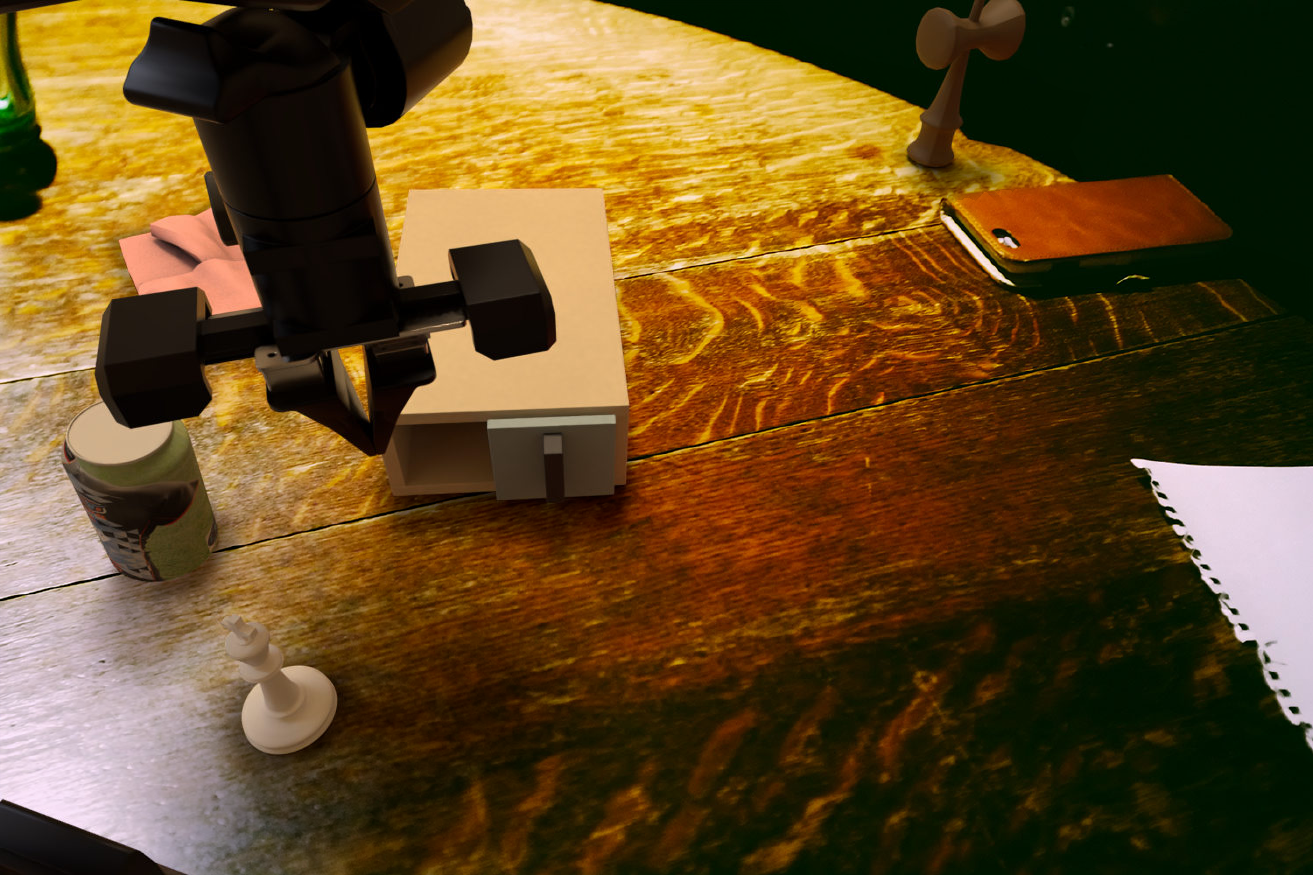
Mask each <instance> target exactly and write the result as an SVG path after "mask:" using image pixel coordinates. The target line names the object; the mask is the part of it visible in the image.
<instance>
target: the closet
mask: <svg viewBox="0 0 1313 875" xmlns="http://www.w3.org/2000/svg"><path fill="white" fill-rule="evenodd" d="M406 201H407V202H406V207H405V211H404V212H405V213H404V218H403V224H402V230H401V236H400V242H399V247H398V253H397V257H396V258H397V259H396V263H395V267H396V273H397V277H399V276H406V275H409V276H412V278H413V281H414V285H415V286H421V285H427V284H433V283H440V282H446V281H452V280H453V279H452V276H451V272H450V266H449V260H448V250H449V249H453V248H460V247H466V246H473V245H480V244H487V243H493V242H500V241H507V240H513V239H519V240H520V241H521V242H522V243H524V244H525V245H526V246H527V247H529V248H530V249H531V251H532V253H533V255H534V257H535V260H536V262H537V264H538V267H539V269H540V271H541V273H542V276H543V278H544V280H545V283H546V285H547V287H548V289H549V292H550V294H551V296H552V301H553V305H554V310H555V316H556V342H555V343H554V344H553V346H552V347H551V348H550V349H549V350H548V351H544V352H538V353H533V354H528V355H522V356H517V357H512V358H506V359H501V360H496V361H493V360H491V359H490V358H488V357H486V356H484V355H482V354H480V353H478V352H476V351H475V348H474V345H473V341H472V333H471V327H470V324H469V320H468V321H467V325H466V326H465V327H462V328H457V329H451V330H445V331H440V332H434V333H430V336H431V338H430V339H428V341H429V345H430V349H431V352H432V356H433V360H434V364H435V368H436V373H437V377H436V379H435V380H434V381H433V382H432V383H431V384H428V385H424V386H420V387H418V388H416V389H415V391H414V393H413V394H412V396H411V397H410V399H409V401H408V402H407V404H406V406H405V407H404V409H403V410H402V412H401V414H400V415H399V418H398V420H397V423H396V425H395V428H394V431H393V433H392V436H391V439H390V442H389V444H388V447H387V450H386V453H385V454H382V455H381V457H382V461H383V464H384V468H385V471H386V475H387V478H388V483H389V485H390V486H389V487H390V489H391V493H392V495H393V497H401V496H402V497H403V496H422V495H423V496H425V495H443V494H445V495H446V494H461V493H462V494H464V493H466V494H467V493H481V492H482V493H483V492H486V493H487V492H496V488H495V481H494V474H493V467H492V460H491V453H490V445H489V438H488V431H487V421H488V420H491V419H517V418H542V417H567V416H593V415H615V418H616V444H615V479H614V486H625V485H627V468H628V467H627V466H628V445H629V444H628V443H629V424H630V423H629V422H630V420H629V419H630V400H629V391H628V383H627V376H626V367H625V365H626V364H625V359H624V349H623V341H622V333H621V324H620V317H619V309H618V300H617V294H616V284H615V276H614V268H613V261H612V252H611V251H612V250H611V244H610V236H609V235H610V234H609V227H608V219H607V218H608V217H607V209H606V203H605V202H606V201H605V193H604V188H603V187H598V188H597V187H586V188H585V187H581V188H580V187H575V188H574V187H573V188H571V187H570V188H561V187H560V188H559V187H558V188H557V187H555V188H451V189H450V188H448V189H447V188H443V189H442V188H441V189H439V188H438V189H437V188H436V189H435V188H434V189H433V188H431V189H430V188H429V189H409V190H408V196H407V200H406Z"/></svg>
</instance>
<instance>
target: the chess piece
mask: <svg viewBox="0 0 1313 875" xmlns="http://www.w3.org/2000/svg"><path fill="white" fill-rule="evenodd" d="M219 623H220V625H221V627H222V628H224V629H226V630H229V631H230V632H229V633H228V634H227V636H226V638H225V641H224V650H225V653H226V654H227V655H228V657H230V658H231V659H233V660H235V661H238V662H239V663H238V673H239V676H240V677H241V679H242V680H243V681H244V682H247V683H250V684H255V685H254V687H253V688H252V689H251V691H250V692H249V693H248V695H247V697H246V699H245V700H244V703H243V707H242V710H241V724H242V725H241V726H242V728H243V731H244V735H245V737H246V739H247V741H248V742H249V743H250V745H252V746H253V747H254V748H256V749H257V750H258V751H260V752H263V753H266V754H270V755H286V754H291V753H295V752H297V751H300V750H302V749H304V748H306V747H308V746H310V745H311V744H313V743H314V742H316V741H317V740H318V739H319V738H320V737H321V736H322V735H323V734H324V733H325V732H326V731H327V729H328V728H329V727H330V725H331V723H332V722H333V719H334V718H335V715H336V711H337V706H338V695H337V691H336V688H335V686H334V684H333V682H332V681H331V680H330V679H329V678H328V676H326V675H325V673H323V672H322V671H320V670H319V669H317V668H315V667H311V666H307V665H290V666H286V667H283V665H284V662H285V656H284V652H283V650H282V649H281V648H280V647H278V646H276V645H275V644H272V643H270V640H271V639H270V632H269V630H268V628H267V626H266V625H265V624H263V623H261V622H259V621H247V622H245V621H244V619H243V618H242V616H241V615H239V614H236V613H234V612H232V614H231V615H230V616H229V615H225V616H224V617H223V618H222V620H221V621H220V622H219Z"/></svg>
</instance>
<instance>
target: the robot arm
mask: <svg viewBox="0 0 1313 875" xmlns="http://www.w3.org/2000/svg"><path fill="white" fill-rule="evenodd" d="M79 1H81V0H0V15H6V14H11V13H16V12H22V11H28V10H33V9H40V8H45V7H51V6H56V5H57V6H58V5H62V4H67V3H73V2H79ZM180 1H182V2H190V3H191V2H192V3H199V4H208V5H216V6H225V7H230V8H228V9H226V10H225V11H222V12H221V13H219V14H217V15H215V16H214V17H212V18H209V19H208V20H206V21H204V22H202V23H200V24H199V23H194V22H189V21H185V20H179V19H174V18H169V17H164V16H154V17H153V18H152V19H151V20H150V22H149V31H148V37H147V40H146V43H145V44H144V47H143V48H142V50H141V51H140V53H138V55H137V56H136V57H135V58H134V59H133V61H132V62H131V64H129V65H130V66H129V68H128V71H127V74H126V76H125V79H124V82H123V84H122V94H123V97H124V99H125V100H126V101H127V102H128V103H129V104H131V105H133V106H137V107H140V108H141V107H142V108H146V109H151V110H156V111H161V112H165V113H170V114H173V115H179V116H183V117H188V118H192V121H193V124H194V126H195V129H196V132H197V134H198V138H199V140H200V143H201V145H202V149H203V151H204V153H205V156H206V159H207V162H208V164H209V167H210V170H208V171H206V172H205V173H204V174H203V179H204V184H205V187H206V191H207V196H208V199H209V205H210V208H211V209H212V213H213V216H214V219H215V223H216V226H217V229H218V232H219V235H220V238H221V240H222V242H223V244H224V245H226V246H234V245H239V246H240V249H241V251H242V254H243V257H244V259H245V262H246V265H247V268H248V270H249V273H250V276H251V278H252V281H253V284H254V287H255V289H256V292H257V295H258V297H259V300H260V303H261V306H262V307H258V308H252V309H245V310H239V311H233V312H226V313H220V314H214V315H212V308H211V305H210V303H209V301H208V298H207V296H206V294H205V291H204V290H202V289H200V288H199V287H190V288H184V289H177V290H170V291H163V292H157V293H150V294H143V295H139V294H137V295H131V296H124V297H123V296H122V297H117V298H112V299H110V301H109V303H108V305H107V307H106V308H105V310H104V312H103V314H102V316H101V323H100V331H99V338H98V345H97V352H96V358H95V367H94V378H95V379H94V380H95V382H96V386H97V391H98V395H99V397H100V399H101V400H103V401H104V403H105V405H106V406H107V408H108V409H109V411H110V413H111V414H112V416H113V418H114V419H115V421H116V423H118V424H121V425H123V426H125V427H127V428H129V429H134V428H139V427H145V426H150V425H155V424H161V423H166V422H171V421H177V420H181V421H183V420H186V419H193V418H197V417H200V416H201V414H202V413H203V412H204V410H205V409H206V408H207V407H208V405H209V404H211V402H212V400H213V388H212V387H211V384H210V382H209V380H208V378H207V375H206V373H205V372H206V366H208V367H209V366H212V365H213V366H214V365H218V364H225V363H230V362H236V361H243V360H247V359H252V358H253V359H254V365H255V367H256V370H257V372H258V373H261V374H262V377H263V379H264V381H265V393H266V394H265V395H266V396H265V397H266V402H267V405H268V407H269V408H270V409H271V411H273V412H276V413H281V414H282V413H288V412H296V413H299V414H300V415H302V416H304V417H306V418H308V419H310V420H312V421H314V422H315V423H318V424H320V425H321V426H324V427H326V428H328V429H329V430H332V431H333V432H334V433H336V434H337V435H338V436H340V437H341V438H343V439H344V440H345V441H346V442H348V443H349V444H351V445H352V446H354V447H355V448H356V449H358V451H360V452H361V453H363V454H365V455H366V456H367V457H369V458H372V457H373V458H374V457H377V456H382V454H385V453H386V450H387V447H388V444H389V442H390V439H391V436H392V433H393V431H394V428H395V425H396V423H397V420H398V418H399V415H400V414H401V412H402V410H403V409H404V407H405V406H406V404H407V402H408V401H409V399H410V397H411V396H412V394H413V393H414V391H415V389H416V388H418V387H420V386H424V385H428V384H431V383H432V382H433V381H434V380H435V379H436V377H437V373H436V368H435V364H434V360H433V356H432V352H431V349H430V345H429V341H428V339H430V338H431V336H430V333H434V332H440V331H445V330H451V329H457V328H462V327H465V326H466V325H467V321H468V320H469V324H470V327H471V333H472V341H473V345H474V348H475V351H476V352H478V353H480V354H482V355H484V356H486V357H488V358H490V359H491V360H493V361H496V360H501V359H506V358H512V357H517V356H522V355H528V354H533V353H538V352H544V351H548V350H549V349H550V348H551V347H552V346H553V344H554V343H555V342H556V316H555V310H554V305H553V301H552V296H551V294H550V292H549V289H548V287H547V285H546V283H545V280H544V278H543V276H542V273H541V271H540V269H539V267H538V264H537V262H536V260H535V257H534V255H533V253H532V251H531V249H530V248H529V247H527V246H526V245H525V244H524V243H522V242H521V241H520V240H519V239H513V240H507V241H500V242H493V243H487V244H480V245H473V246H466V247H460V248H453V249H449V250H448V260H449V266H450V272H451V276H452V279H453V280H452V281H446V282H440V283H433V284H427V285H421V286H415V285H414V281H413V278H412V276H409V275H406V276H399V277H397V273H396V263H395V258H394V253H393V248H392V242H391V239H390V235H389V234H390V233H389V229H388V226H387V221H386V216H385V212H384V207H383V203H382V198H381V192H380V188H379V183H378V178H377V173H376V169H375V163H374V160H373V154H372V151H371V146H370V140H369V136H368V131H367V129H383V128H386V127H389V126H391V125H393V124H395V123H396V122H397V121H399V120H400V119H401V118H403V117H404V116H405V115H406V114H407V113H408V112H409V111H411V110H412V109H413V108H414V107H415V106H416V105H417V104H418V103H419V102H421V101H422V100H423V99H424V98H425V97H427V96H428V94H430V93H431V92H432V91H433V90H434V89H436V88H437V87H438V86H439V85H440V84H441V83H443V81H445V80H446V79H447V78H449V76H450V75H452V74H453V73H454V72H455V71H456V70H457V69H458V68H460V67H461V66H462V65H463V63H464V61H465V60H466V58H467V57H468V55H469V54H470V50H471V47H472V44H473V32H474V23H473V17H472V11H471V9H470V7H469V6H468V5H467V4H466V1H465V0H180ZM360 346H361V349H362V357H363V359H362V360H363V367H364V369H363V370H364V378H365V380H364V381H365V389H366V400H367V413H368V414H367V413H366V411H365V408H364V406H363V404H362V402H361V399H360V397H359V395H358V392H357V390H356V388H355V386H354V384H353V382H352V380H351V377H350V375H349V373H348V371H347V369H346V366H345V364H344V362H343V359H342V357H341V355H340V352H339V350H342V349H348V348H353V347H360ZM0 875H189V874H188V873H185V872H182V871H180V870H177V869H175V868H172V867H169V866H167V865H164V864H161V863H158V862H157V861H155V860H153V859H152V858H151V857H149V856H148V855H147V854H145V853H144V852H143V851H141V850H140V849H136V848H134V847H132V846H129V845H126V844H123V843H121V842H118V841H115V840H113V839H111V838H108V837H105V836H103V835H100V834H97V833H95V832H92V831H89V830H86V829H83V828H81V827H78V826H76V825H73V824H71V823H68V822H65V821H63V820H60V819H57V818H55V817H52V816H49V815H48V814H44V813H41V812H39V811H36V810H33V809H31V808H28V807H26V806H23V805H20V804H17V803H15V802H13V801H10V800H7V799H5V798H1V800H0Z"/></svg>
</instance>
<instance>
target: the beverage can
mask: <svg viewBox="0 0 1313 875" xmlns="http://www.w3.org/2000/svg"><path fill="white" fill-rule="evenodd" d="M60 455H61V456H60V458H61V463H62V466H63V469H64V470H65V472H66V475H67V476H68V479H69V481H70V483H71V484H72V488H74V491H75V493H76V495H77V497H78V498H79V500H80V502H81V503H80V504H82V507H83V509H84V511H85V512H86V516H88V519H89V520H90V523H91V525H92V526H93V528H94V531H95V532H96V535H97V537H98V538H99V541H100V542H101V544H102V546H103V548H104V550H105V552H106V555H107V556H108V558H109V561H110V563H111V564H112V566H113V567H114V568H115V570H116V571H117V572H118V573H120V574H121V575H123V576H124V577H126V578H128V579H131V580H133V581H137V582H143V583H162V582H163V583H164V582H168V581H172V580H175V579H179V578H182V577H184V576H186V575H188V574H190V573H192V572H193V571H195V570H197V569H198V568H199V567H200V566H202V565H203V564H204V563H205V562H206V561H207V560H208V559H209V558H210V557H211V555H212V554H213V552H214V551H215V548H216V546H217V545H218V541H219V540H218V539H219V527H218V524H217V521H216V517H215V513H214V511H213V508H212V504H211V501H210V498H209V494H208V491H207V488H206V484H205V482H204V478H203V475H202V471H201V469H200V465H199V462H198V459H197V455H196V453H195V450H194V446H193V443H192V439H191V436H190V433H189V429H188V428H187V426H186V425H185V423H184V422H183V420H177V421H171V422H166V423H161V424H155V425H150V426H145V427H139V428H134V429H129V428H127V427H125V426H123V425H121V424H118V423H116V421H115V419H114V418H113V416H112V414H111V413H110V411H109V409H108V408H107V406H106V405H105V403H104V401H103V400H102V399H101V400H99V401H96V402H94V403H92V404H90V405H88V406H87V407H84V409H82V410H81V411H79V412H78V413H77V414H76V415H75V416H74V417H73V418H72V419H71V421H70V422H69V424H68V425H67V429H66V432H65V438H64V439H63V444H62V446H61V452H60Z"/></svg>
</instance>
